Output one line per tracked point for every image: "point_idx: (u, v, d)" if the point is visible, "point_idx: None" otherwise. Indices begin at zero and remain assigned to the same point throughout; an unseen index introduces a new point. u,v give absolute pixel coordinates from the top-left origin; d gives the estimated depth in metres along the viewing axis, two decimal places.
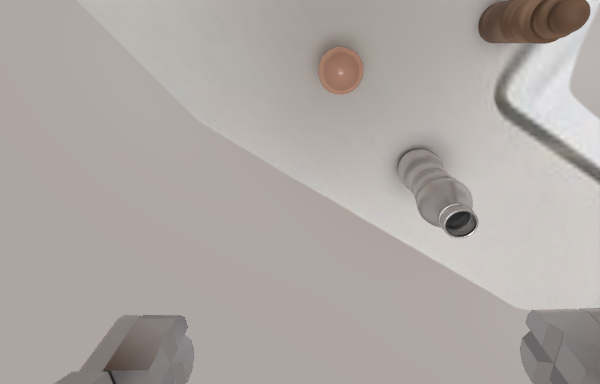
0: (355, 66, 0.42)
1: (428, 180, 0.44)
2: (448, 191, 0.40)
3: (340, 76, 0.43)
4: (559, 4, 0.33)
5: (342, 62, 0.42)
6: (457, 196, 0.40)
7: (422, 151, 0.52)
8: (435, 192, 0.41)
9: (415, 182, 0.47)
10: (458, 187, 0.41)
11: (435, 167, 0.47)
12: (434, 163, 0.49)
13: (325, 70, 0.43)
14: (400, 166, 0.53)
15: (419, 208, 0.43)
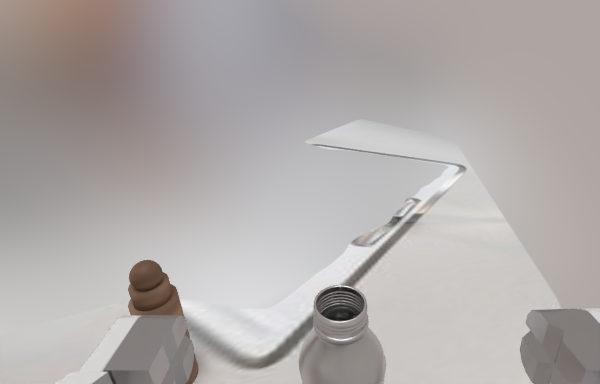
0: None
1: None
2: (307, 345, 0.25)
3: None
4: (130, 282, 0.35)
5: None
6: (313, 330, 0.25)
7: None
8: (310, 366, 0.24)
9: None
10: (306, 337, 0.26)
11: None
12: None
13: None
14: None
15: None
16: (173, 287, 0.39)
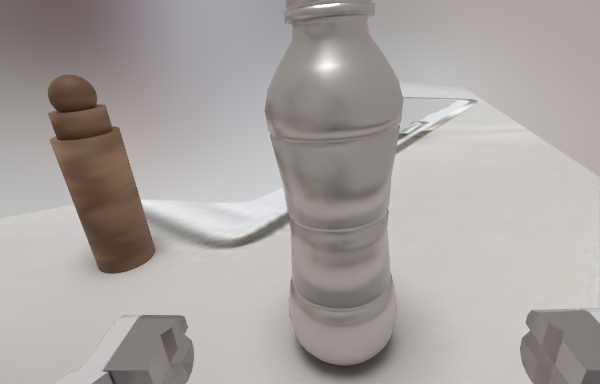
0: None
1: (279, 153, 0.15)
2: None
3: None
4: (49, 98, 0.26)
5: None
6: None
7: None
8: (279, 81, 0.14)
9: (314, 216, 0.16)
10: None
11: None
12: None
13: None
14: (325, 339, 0.18)
15: (343, 107, 0.13)
16: (115, 127, 0.30)
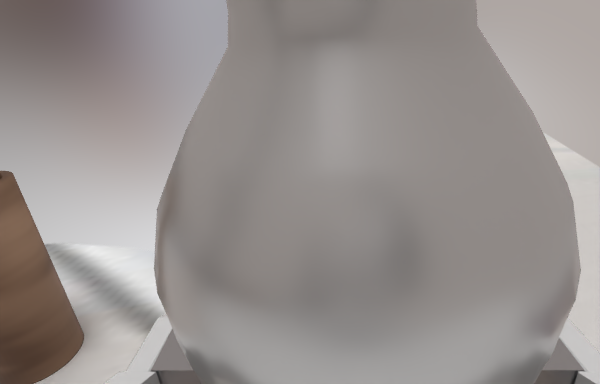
0: None
1: None
2: None
3: None
4: None
5: None
6: None
7: None
8: (175, 189, 0.04)
9: None
10: None
11: None
12: None
13: None
14: None
15: (415, 348, 0.03)
16: (9, 174, 0.20)
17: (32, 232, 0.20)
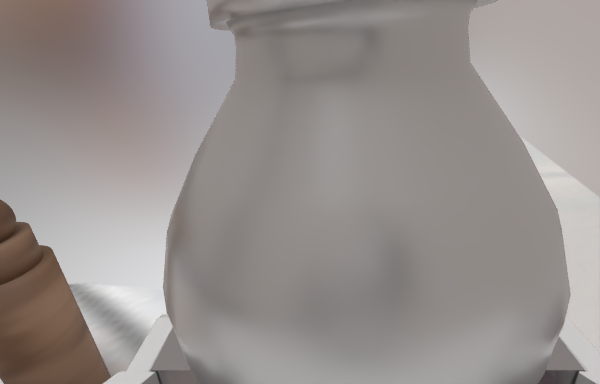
0: None
1: None
2: None
3: None
4: None
5: None
6: None
7: None
8: (185, 215, 0.04)
9: None
10: None
11: None
12: None
13: None
14: None
15: (410, 372, 0.03)
16: (49, 251, 0.21)
17: (70, 301, 0.22)
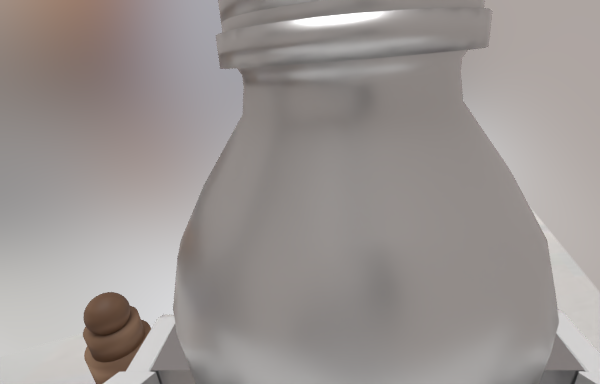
0: None
1: None
2: None
3: None
4: (85, 323, 0.26)
5: None
6: None
7: None
8: (195, 244, 0.05)
9: None
10: None
11: None
12: None
13: None
14: None
15: None
16: (146, 325, 0.30)
17: None
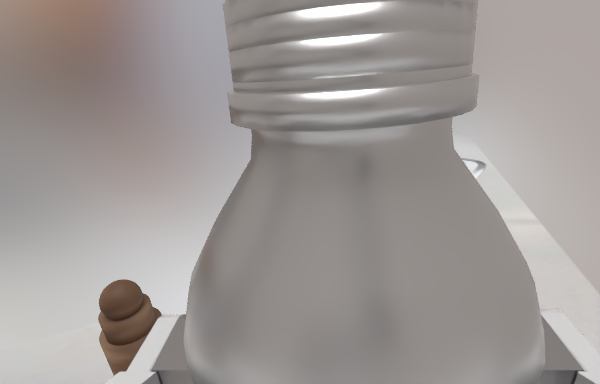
0: None
1: None
2: None
3: None
4: (100, 308, 0.28)
5: None
6: None
7: None
8: (205, 283, 0.05)
9: None
10: None
11: None
12: None
13: None
14: None
15: None
16: (157, 312, 0.31)
17: None
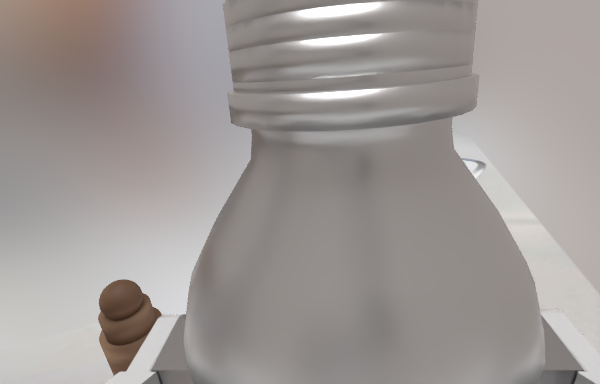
0: None
1: None
2: None
3: None
4: (100, 308, 0.28)
5: None
6: None
7: None
8: (205, 283, 0.05)
9: None
10: None
11: None
12: None
13: None
14: None
15: None
16: (157, 312, 0.31)
17: None
